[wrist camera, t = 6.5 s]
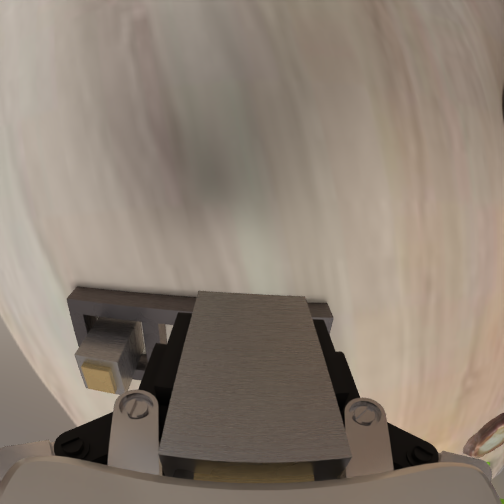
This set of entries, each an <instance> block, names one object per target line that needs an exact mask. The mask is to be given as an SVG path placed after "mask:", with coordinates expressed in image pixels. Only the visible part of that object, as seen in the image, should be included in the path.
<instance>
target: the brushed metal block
mask: <svg viewBox="0 0 504 504" xmlns="http://www.w3.org/2000/svg"><path fill="white" fill-rule="evenodd" d="M158 456H159V459H160V462H161V465H162V468H163V471H164V474H165V476H167V477H174V478H182V479H191V480H201V481H213V482H229V483H295V482H311V481H323V480H333V479H339V478H340V476H341V474H342V473H343V471H344V470H345V468H346V467H347V465H348V463H349V462H350V460H351V458H352V454H351V450H350V447H349V443H348V439H347V435H346V432H345V428H344V425H343V421H342V417H341V414H340V410H339V407H338V403H337V400H336V396H335V393H334V389H333V386H332V382H331V379H330V376H329V372H328V369H327V366H326V362H325V359H324V356H323V352H322V349H321V346H320V342H319V339H318V336H317V333H316V329H315V326H314V323H313V320H312V317H311V313H310V310H309V307H308V304H307V301H306V298H305V296H280V295H259V294H240V293H223V292H208V291H198V295H197V298H196V302H195V306H194V309H193V313H192V317H191V320H190V324H189V328H188V332H187V335H186V339H185V343H184V347H183V351H182V355H181V359H180V363H179V367H178V371H177V375H176V379H175V383H174V387H173V391H172V395H171V399H170V403H169V408H168V412H167V416H166V421H165V425H164V429H163V434H162V438H161V443H160V447H159V452H158Z"/></svg>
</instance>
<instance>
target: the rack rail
mask: <svg viewBox="0 0 504 504" xmlns="http://www.w3.org/2000/svg"><path fill="white" fill-rule="evenodd" d="M195 302H196V297H182V296H169V295H157V294H145V293H134V292H124V291H113V290H104V289H94V288H85V287H77V288H76V289H75V290H74V291H73V292H72V293H71V294H70V295H69V296H68V298H67V303H68V307H69V311H70V316H71V320H72V324H73V327H74V331H75V335H76V339H77V342H78V346H79V347H80V345H81V344H82V342H83V341H84V339H85V337H86V336H87V334H88V333H89V331H90V330H91V328H92V327H93V325H94V324H95V322H96V317H95V316H98V317H106V318H114V319H122V320H130V321H139V322H142V327H143V334H144V341H145V347H146V354H147V355H141V357H140V360H139V363H138V365H137V368H136V370H135V373H134V376H133V378H132V379H135V380H142V378H143V375H144V372H145V370H146V367H147V364H148V361H149V359H150V356H151V353H152V351H153V348H154V346H155V344H156V343H161V344H167V338H166V327H165V324H169V325H174V322H175V320H176V317H177V314H178V312H183V313H193V309H194V306H195ZM307 304H308V307H309V310H310V313H311V317H312V319H323V320H324V321H325V324H326V327H327V330H328V332H329V334H330V330H331V326H332V322H333V315H332V313H331V311H330V308H329V306H328V304H327V303H307Z"/></svg>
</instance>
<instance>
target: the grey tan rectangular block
mask: <svg viewBox="0 0 504 504" xmlns="http://www.w3.org/2000/svg"><path fill="white" fill-rule="evenodd" d="M143 350H144V341H143V334H142V327H141V322H139V321H130V320H122V319H114V318H106V317H99V318H98V319H97V321H96V322H95V324H94V325H93V327H92V328H91V330H90V331H89V333H88V334H87V336H86V337H85V339H84V341H83V342H82V344H81V345H80V347H79V348H78V350H77V352H76V353H75V358H76V361H77V364H78V367H79V370H80V373H81V376H82V378H83V381H84V384H85V387H86V388H88V389H93V390H98V391H103V392H108V393H113V394H119V395H121V394H123V393H124V392H127V391H128V389H129V386H130V383H131V381H132V378H133V376H134V373H135V370H136V368H137V365H138V363H139V360H140V357H141V355H142V352H143Z"/></svg>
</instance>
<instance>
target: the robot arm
mask: <svg viewBox="0 0 504 504" xmlns="http://www.w3.org/2000/svg"><path fill="white" fill-rule="evenodd" d="M191 317H192V313H183V312H178V314H177V317H176V320H175V322H174V325H173V328H172V331H171V334H170V337H169V341H168V344H161V343H156V344H155V346H154V348H153V351H152V353H151V356H150V359H149V361H148V364H147V367H146V370H145V372H144V375H143V378H142V381H141V384H140V386H139V389H138V390H130V391H127V392H124V393H123V394H121V395H120V396H119V397H118V398H117V399H116V401H115V404H114V410H113V412H111V413H109V414H107V415H105V416H102V417H100V418H98V419H95V420H93V421H91V422H88V423H86V424H84V425H81V426H79V427H76V428H74V429H72V430H69V431H67V432H64V433H63V434H61V435H60V436H59V437H58V438H57V439H56V441H55V442H50V441H49V440H44V441H38V442H32V443H25V444H19V445H11V446H5V447H2V448H0V504H502V502H501V500H500V498H499V496H498V494H497V492H496V490H495V488H494V487H493V485H492V483H491V478H492V471H491V468H490V466H489V464H488V463H487V462H485V461H483V460H481V459H476V458H471V457H467V456H462V455H458V454H454V453H449V452H445V451H442V452H441V453H438V452H437V450H436V448H435V447H434V446H433V445H431V444H430V443H428V442H426V441H424V440H422V439H420V438H418V437H416V436H414V435H412V434H410V433H408V432H406V431H404V430H402V429H400V428H398V427H396V426H394V425H392V424H390V423H388V422H387V419H386V413H385V411H384V408H383V407H382V406H381V405H380V404H379V403H378V402H376V401H374V400H372V399H369V398H360V396H359V393H358V390H357V388H356V385H355V382H354V380H353V377H352V374H351V371H350V369H349V366H348V363H347V361H346V358H345V356H344V354H343V352H335V349H334V346H333V343H332V341H331V338H330V335H329V332H328V330H327V327H326V324H325V321H324V320H323V319H312V320H313V323H314V326H315V329H316V333H317V336H318V339H319V342H320V346H321V349H322V352H323V356H324V359H325V362H326V366H327V369H328V372H329V376H330V379H331V382H332V386H333V389H334V393H335V396H336V400H337V403H338V407H339V410H340V414H341V417H342V421H343V425H344V428H345V432H346V435H347V439H348V443H349V447H350V450H351V454H352V458H351V460H350V462H349V463H348V465H347V467H346V468H345V470H344V471H343V473H342V474H341V476H340V478H339V479H333V480H323V481H311V482H295V483H229V482H213V481H201V480H191V479H182V478H174V477H167V476H165V474H164V471H163V468H162V465H161V462H160V459H159V456H158V452H159V447H160V443H161V438H162V434H163V429H164V425H165V421H166V416H167V412H168V408H169V403H170V399H171V395H172V391H173V387H174V383H175V379H176V375H177V371H178V367H179V363H180V359H181V355H182V351H183V347H184V343H185V339H186V335H187V332H188V328H189V324H190V320H191Z"/></svg>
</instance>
